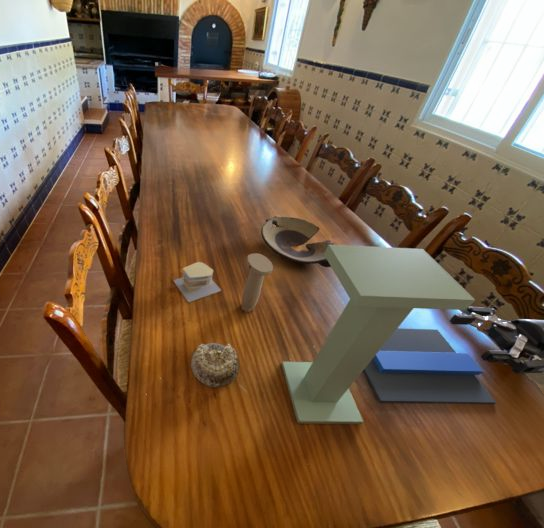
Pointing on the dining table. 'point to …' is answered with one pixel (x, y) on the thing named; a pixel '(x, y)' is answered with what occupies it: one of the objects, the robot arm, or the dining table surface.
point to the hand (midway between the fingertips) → (467, 336)
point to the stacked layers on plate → (197, 282)
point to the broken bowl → (294, 240)
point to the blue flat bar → (426, 363)
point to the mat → (424, 385)
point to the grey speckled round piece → (215, 364)
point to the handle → (255, 279)
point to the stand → (366, 324)
